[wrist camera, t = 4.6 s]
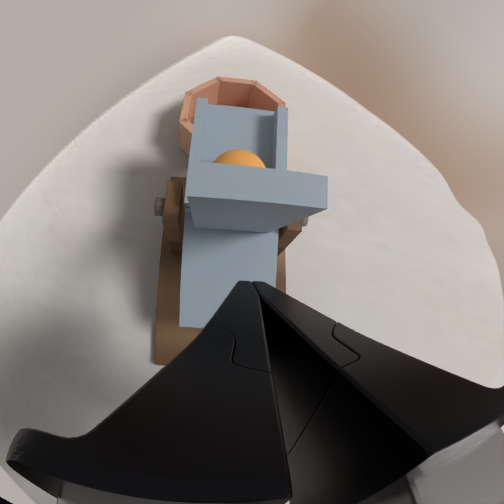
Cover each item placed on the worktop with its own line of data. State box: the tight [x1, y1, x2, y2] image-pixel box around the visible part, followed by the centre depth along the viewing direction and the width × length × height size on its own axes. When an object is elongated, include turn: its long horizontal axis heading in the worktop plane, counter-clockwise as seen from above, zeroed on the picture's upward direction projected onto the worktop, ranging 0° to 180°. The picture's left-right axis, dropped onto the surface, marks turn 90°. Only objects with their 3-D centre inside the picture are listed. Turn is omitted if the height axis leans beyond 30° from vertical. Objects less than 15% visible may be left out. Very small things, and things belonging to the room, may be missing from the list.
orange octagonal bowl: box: [179, 77, 288, 156], centre depth 23 cm, size 8×8×3 cm
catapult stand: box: [155, 177, 308, 365], centre depth 18 cm, size 14×9×6 cm, turn 179°
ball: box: [213, 149, 266, 168], centre depth 14 cm, size 3×3×3 cm
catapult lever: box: [179, 98, 327, 328], centre depth 14 cm, size 13×5×11 cm, turn 179°
